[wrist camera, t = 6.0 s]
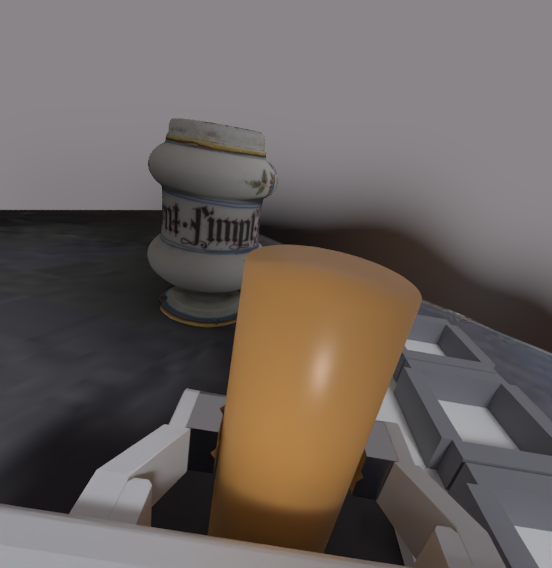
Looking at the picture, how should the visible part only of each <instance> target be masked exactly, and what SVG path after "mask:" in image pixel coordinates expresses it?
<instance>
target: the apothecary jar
mask: <svg viewBox="0 0 552 568" xmlns="http://www.w3.org/2000/svg"><path fill="white" fill-rule="evenodd" d="M148 166H149V171H150V173H151V174H152V176H153V177H154V179H155V180H156V181H157V182H158V183H160V184H161V186H162V229H161V233H160V234H159V235H158V236H156V237H155V238H154V239H153V241H152V242H151V243H150V245H149V247H148V252H147V256H148V260H149V263H150V265H151V267H152V268H153V270H154V271H155V272H156V273H157V274H158V275H159V276H160V277H162V278H163V279H164V280H166V281H167V282H169V283H171V284H173V285H174V286H172V287H170V288H168V289H166V290H165V291H164V292H163V293H162V294H161V295H160V297H159V301H161V303H162V305H161V307H160V309H161V311H162V312H163V313H164V314H165V315H166V316H168V317H169V318H171V319H173V320H175V321H178V322H180V323H184V324H187V325H192V326H198V327H220V326H225V325H229V324H233V323H235V322H237V315H238V308H239V300H240V292H239V291H237V290H239V289H241V286H242V278H243V271H244V264H245V258H246V256H247V254H248V253H250V252H251V251H253V250H255V249H257V248H261V247H262V246H261V245H260V243H259V242H258V237H259V224H260V214H261V207H262V202H263V199H264V198H266V197H267V196H269V195H271V194H272V193H273V192H274V191H275V189H276V187H277V182H278V177H277V173H276V171H275V169H274V167H273V166H272V165H271V163H270V162H269V161H268V160H267V159H266V152H265V135H264V134H263V133H261V132H256V131H252V130H248V129H243V128H238V127H232V126H227V125H222V124H216V123H210V122H203V121H196V120H189V119H171V120H170V124H169V132H168V134H167V136H166V141H165V142H164V143H162V144H160V145H159V146H158V147H156V148H155V149H154V150H153V151H152V153H151V155H150V157H149V160H148Z"/></svg>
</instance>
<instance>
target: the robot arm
mask: <svg viewBox="0 0 552 568" xmlns="http://www.w3.org/2000/svg"><path fill="white" fill-rule="evenodd" d="M225 403H226V395H220V394H215V393H210V392H205V391H198V390H193V389H188V388H186V390H185V391H184V392H183V394H182V397H181V399H180V401H179V403H178V405H177V408H176V410H175V412H174V414H173V416H172V418H171V421H170V423H169V425H166V424H164V425H162V426H161V427H159V428H158V429H156V430H155V431H153V432H152V433H150V434H149V435H147V436H146V437H145V438H143V439H142V440H140V441H139V442H137V443H136V444H134V445H133V446H131V447H130V448H128V449H127V450H125V451H124V452H122V453H121V454H119V455H118V456H116V457H115V458H113V459H112V460H110V461H109V462H107V463H106V464H105V465H103V466H102V467H100V468H99V469H97V470H96V472H95V473H94V475H93V476H92V478H91V480H90V481H89V483H88V484H87V486H86V488H85V489H84V491H83V492H82V494H81V495H80V497H79V499H78V500H77V502H76V503H75V505H74V507H73V508H72V510H71V511H70V513H69V514H65V513H58V512H52V511H45V510H39V509H33V508H26V507H20V506H13V505H7V504H0V568H506V566H505V565H504V563H503V561H502V559H501V557H500V555H499V553H498V551H497V549H496V547H495V545H494V544H493V542H492V540H491V538H490V536H489V534H488V532H487V531H486V530H485V529H484V528H483V527H482V526H481V525H480V524H479V523H477V522H476V521H475V520H474V519H473V518H472V517H471V516H470V515H469V514H468V513H467V512H466V511H465V510H464V509H463V508H462V507H461V506H460V505H459V504H458V503H457V502H456V501H455V500H454V499H453V498H452V497H451V496H450V495H449V494H448V493H447V492H446V491H445V490H444V489H443V488H442V487H441V486H440V485H439V484H438V483H437V482H436V481H435V480H433V479H432V478H431V477H430V476H429V475H428V474H427V473H426V472H425V471H424V470H423V469H422V468H421V467H420V466H418V465H415V463H414V461H413V459H412V456H411V454H410V451H409V449H408V446H407V444H406V442H405V439H404V437H403V434H402V432H401V430H400V427H399V425H398V424H397V423H392V422H386V421H378V420H375V423H374V425H373V428H372V431H371V433H370V436H369V438H368V441H367V443H366V446H365V449H364V451H363V454H362V456H361V459H360V461H359V464H358V466H357V469H356V472H355V474H354V477H353V479H352V482H351V484H350V491H351V495H353V496H358V497H363V498H368V499H374V500H377V501H376V502H377V503H378V505H379V506H380V507H381V509H382V510H383V512H384V513H385V515H386V516H387V518H388V519H389V521H390V522H391V524H392V525H393V527H394V528H395V530H396V531H397V533H398V534H399V536H400V537H401V538H402V540H403V541H404V543H405V544H406V546H407V547H408V549H409V550H410V552H411V553H412V555H413V556H414V558H415V559H416V561H415V563H414V565H413V566H412V567H407V566H401V565H394V564H388V563H381V562H375V561H368V560H362V559H355V558H349V557H342V556H336V555H329V554H323V553H316V552H310V551H303V550H297V549H290V548H284V547H278V546H271V545H265V544H258V543H252V542H246V541H239V540H233V539H226V538H220V537H213V536H207V535H200V534H194V533H187V532H181V531H175V530H168V529H162V528H155V527H151V507H152V506H153V505H154V504H155V503H156V502H157V501H158V500H159V499H160V498H161V497H162V496H163V495H164V494H165V493H166V492H167V491H168V490H169V489H170V488H171V487H172V486H173V485H174V484H175V483H176V482H177V481H178V480H179V479H180V478H181V477H182V476H183V475H184V474H185V473H186V472H187V470H192V471H200V472H208V473H213V471H214V467H215V463H216V459H217V455H218V448H219V444H220V439H221V432H222V425H223V417H224V410H225Z"/></svg>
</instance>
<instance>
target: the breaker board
mask: <svg viewBox="0 0 552 568" xmlns="http://www.w3.org/2000/svg"><path fill="white" fill-rule="evenodd" d="M494 367H495V364H494V363H493V362H492V361H491V360H490V359H489V358H488V357H487V356H486V354H485V353H484V352H483V351H482V350H481V349H480V348H479V347H478V346H477V345H476V344H475V343H474V342H473V341H472V340H471V339H470V338H469V337H468V336H467V335H466V334H465V333H464V332H463V331H462V330H461V329H460V328H459V327H458V326H453V325H451V324H450V323H449V322H448V321H447V320H446V319H440V318H434V317H428V316H423V315H416V318H415V320H414V323H413V325H412V328H411V330H410V333H409V336H408V338H407V341H406V343H405V346H404V348H403V351H402V354H401V356H400V359H399V361H398V364H397V366H396V369H395V372H394V374H393V377H392V379H391V382H390V384H389V387H388V389H387V392H386V395H385V397H384V400H383V402H382V405H381V407H380V410H379V413H378V415H377V418H376V420H378V421H386V422H392V423H397V424H398V425H399V427H400V430H401V432H402V434H403V437H404V439H405V442H406V444H407V446H408V449H409V451H410V454H411V456H412V459H413V461H414V463H415V465H418V466H420V467H421V468H422V469H423V470H424V471H425V472H426V473H427V474H428V475H429V476H430V477H431V478H432V479H433V480H435V481H436V482H437V483H438V484H439V485H440V486H441V487H442V488H443V489H444V490H445V491H446V492H447V493H448V494H449V495H450V496H451V497H452V498H453V499H454V500H455V501H456V502H457V503H458V504H459V505H460V506H461V507H462V508H463V509H464V510H465V511H466V512H467V513H468V514H469V515H470V516H471V517H472V518H473V519H474V520H475V521H476V522H477V523H479V524H480V525H481V526H482V527H483V528H484V529H485V530H486V531H487V532H488V534H489V536H490V538H491V540H492V542H493V544H494V545H495V547H496V549H497V551H498V553H499V555H500V557H501V559H502V561H503V563H504V565H505V566H506V568H552V421H551V420H550V419H549V418H548V417H547V416H546V415H545V414H544V413H543V412H542V411H541V410H540V409H539V408H538V407H537V406H536V405H535V404H534V403H533V402H532V401H531V400H530V399H529V398H528V397H527V396H526V395H525V394H524V393H523V392H522V391H521V390H520V389H519V388H518V387H517V386H514V385H509V384H508V383H507V382H506V381H505V380H504V379H503V378H502V377H501V376H500V375H499V374H497V372H496V371H495V370H494ZM394 529H395V528H394ZM395 533H396V536H397V540H398V543H399V547H400V551H401V554H402V558H403V561H404V565H405V566H407V567H412V566H413V565H414V563H415V561H416V559H415V558H414V556H413V555H412V553H411V552H410V550H409V549H408V547H407V546H406V544H405V543H404V541H403V540H402V538H401V537H400V536H399V534H398V533H397V531H396V530H395Z"/></svg>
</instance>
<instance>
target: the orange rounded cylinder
mask: <svg viewBox="0 0 552 568" xmlns="http://www.w3.org/2000/svg"><path fill="white" fill-rule="evenodd" d="M421 302H422V297H421V294H420V292H419V291H418V289H417V288H416V287H415V286H414V285H413V284H412V283H411V282H409V281H408V280H407V279H405V278H404V277H402V276H401V275H399V274H397V273H396V272H393V271H392V270H390V269H387V268H385V267H383V266H381V265H379V264H376V263H374V262H371V261H368V260H365V259H363V258H359V257H356V256H353V255H349V254H346V253H342V252H338V251H333V250H328V249H323V248H317V247H310V246H300V245H272V246H265V247H261V248H257V249H255V250H253V251H251V252H250V253H248V254H247V256H246V258H245V264H244V271H243V278H242V286H241V293H240V300H239V308H238V315H237V322H236V330H235V337H234V344H233V352H232V359H231V366H230V374H229V381H228V388H227V396H226V403H225V410H224V417H223V425H222V432H221V439H220V447H219V454H218V461H217V469H216V476H215V483H214V491H213V498H212V505H211V513H210V520H209V527H208V535H207V536H213V537H220V538H226V539H233V540H239V541H246V542H252V543H258V544H265V545H271V546H278V547H284V548H290V549H297V550H303V551H310V552H316V553H323V554H324V551H325V549H326V546H327V543H328V541H329V538H330V536H331V533H332V531H333V528H334V525H335V523H336V520H337V518H338V515H339V513H340V510H341V508H342V505H343V502H344V500H345V497H346V495H347V492H348V490H349V487H350V484H351V482H352V479H353V477H354V474H355V472H356V469H357V466H358V464H359V461H360V459H361V456H362V454H363V451H364V449H365V446H366V443H367V441H368V438H369V436H370V433H371V431H372V428H373V425H374V423H375V420H376V418H377V415H378V413H379V410H380V407H381V405H382V402H383V400H384V397H385V395H386V392H387V389H388V387H389V384H390V382H391V379H392V377H393V374H394V372H395V369H396V366H397V364H398V361H399V359H400V356H401V354H402V351H403V348H404V346H405V343H406V341H407V338H408V336H409V333H410V330H411V328H412V325H413V323H414V320H415V318H416V315H417V312H418V310H419V307H420V305H421Z"/></svg>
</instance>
